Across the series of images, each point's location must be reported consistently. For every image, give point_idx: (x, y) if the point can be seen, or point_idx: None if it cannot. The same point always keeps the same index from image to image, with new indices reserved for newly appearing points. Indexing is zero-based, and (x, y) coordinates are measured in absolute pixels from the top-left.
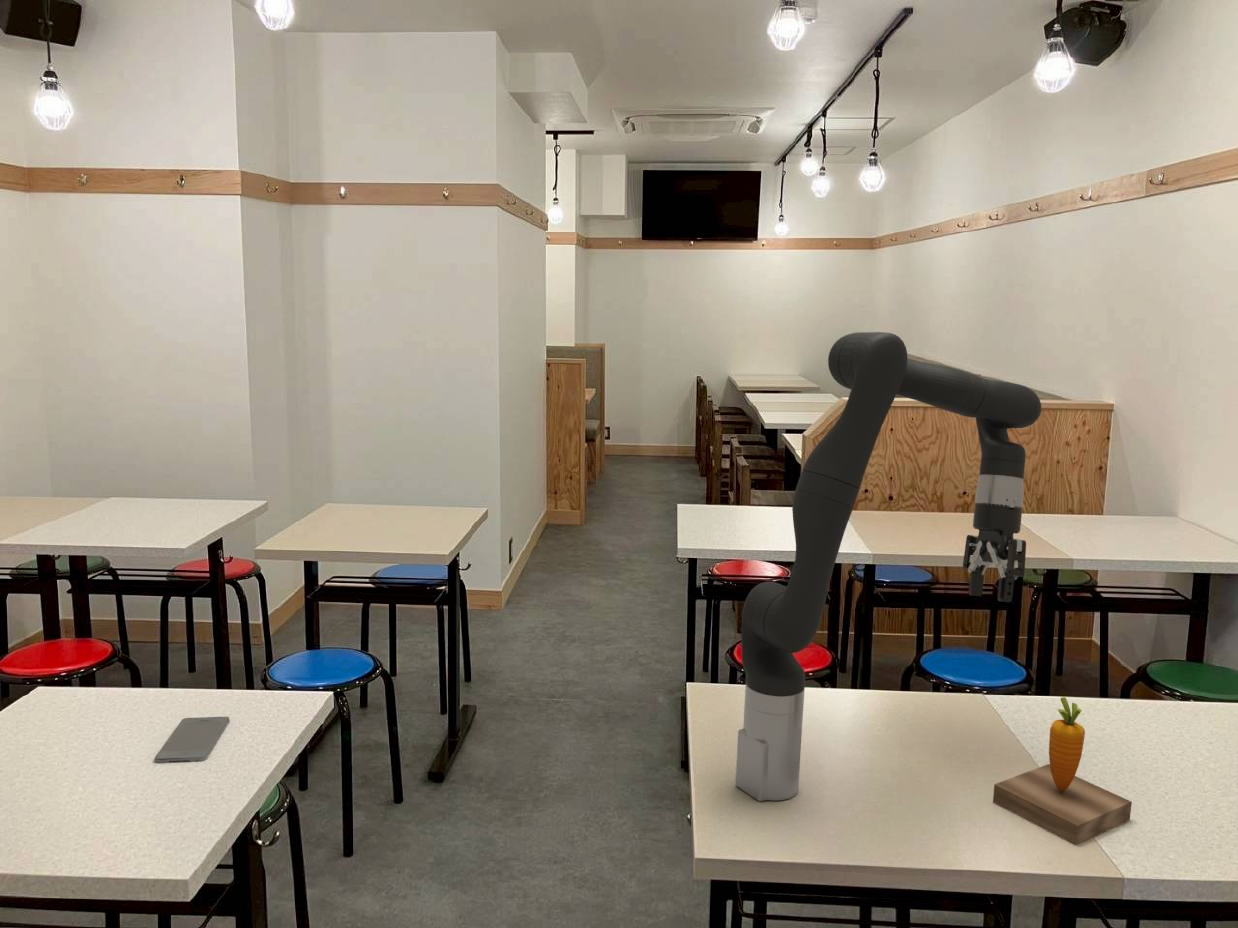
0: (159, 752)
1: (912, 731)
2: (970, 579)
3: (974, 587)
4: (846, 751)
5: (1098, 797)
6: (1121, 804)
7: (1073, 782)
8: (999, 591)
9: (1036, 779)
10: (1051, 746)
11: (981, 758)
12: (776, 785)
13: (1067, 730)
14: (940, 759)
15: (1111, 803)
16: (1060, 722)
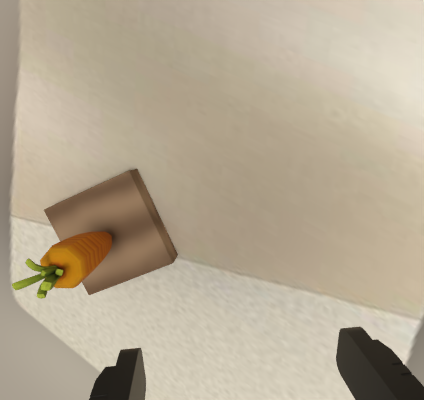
0: None
1: (322, 160)
2: (404, 384)
3: (359, 364)
4: (276, 36)
5: (97, 267)
6: (83, 281)
7: (129, 262)
8: (119, 380)
9: (137, 226)
10: (79, 237)
11: (236, 212)
12: None
13: (43, 257)
14: (239, 159)
15: None
16: (58, 260)
